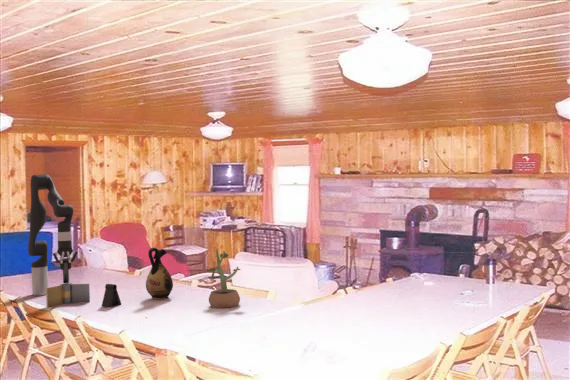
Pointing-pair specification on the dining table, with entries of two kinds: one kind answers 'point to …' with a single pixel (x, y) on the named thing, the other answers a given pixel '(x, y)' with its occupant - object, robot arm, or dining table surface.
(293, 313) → the dining table surface
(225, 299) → the potted plant
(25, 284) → the dining table surface
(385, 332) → the dining table surface
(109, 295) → the phone stand
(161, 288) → the ceramic jug
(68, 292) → the hinge
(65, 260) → the hinge pin
